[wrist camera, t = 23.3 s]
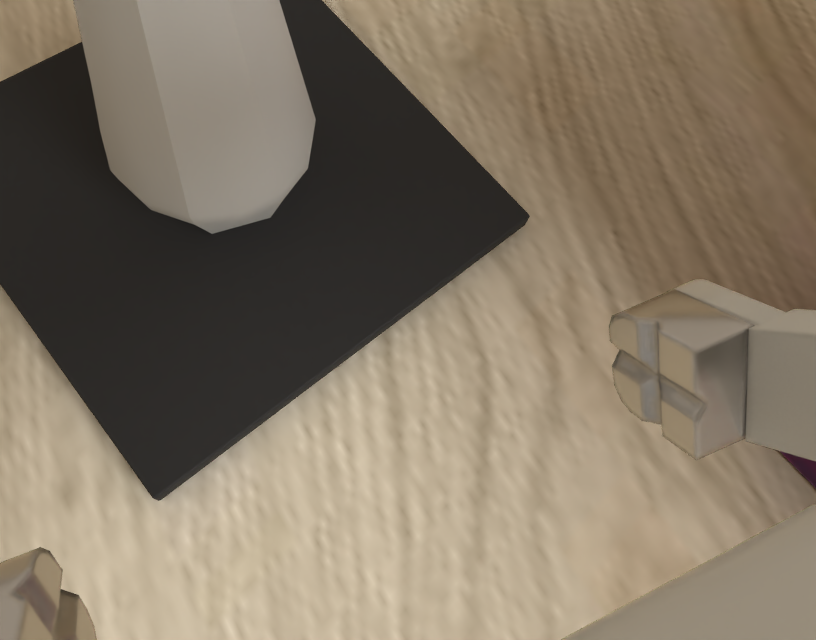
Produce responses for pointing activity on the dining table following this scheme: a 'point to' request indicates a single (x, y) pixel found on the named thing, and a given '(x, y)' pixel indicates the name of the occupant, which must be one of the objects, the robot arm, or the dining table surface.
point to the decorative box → (803, 466)
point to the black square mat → (231, 252)
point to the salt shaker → (199, 105)
